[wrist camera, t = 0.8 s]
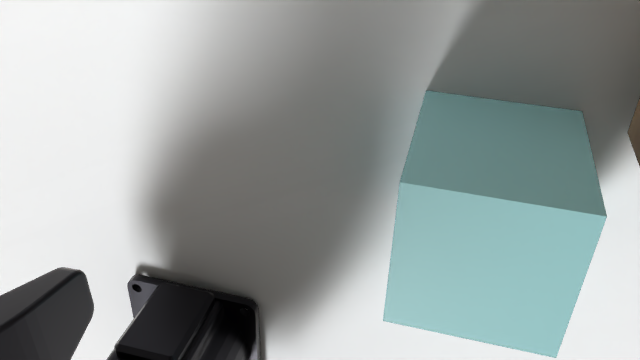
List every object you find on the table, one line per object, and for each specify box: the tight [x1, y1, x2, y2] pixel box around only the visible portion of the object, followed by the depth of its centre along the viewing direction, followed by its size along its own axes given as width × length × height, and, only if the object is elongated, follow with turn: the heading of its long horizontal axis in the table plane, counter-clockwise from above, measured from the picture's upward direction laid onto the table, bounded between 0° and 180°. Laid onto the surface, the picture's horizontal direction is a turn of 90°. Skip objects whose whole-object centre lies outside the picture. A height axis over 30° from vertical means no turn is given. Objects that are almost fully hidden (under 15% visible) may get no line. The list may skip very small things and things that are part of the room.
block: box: [383, 91, 607, 358], centre depth 19 cm, size 5×5×6 cm
